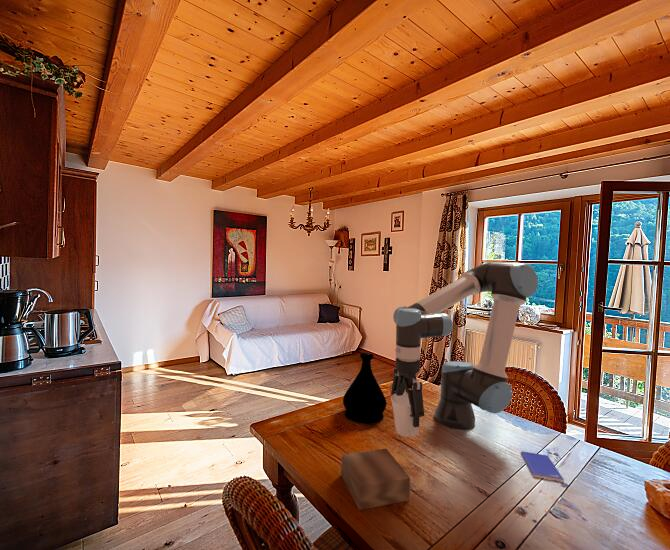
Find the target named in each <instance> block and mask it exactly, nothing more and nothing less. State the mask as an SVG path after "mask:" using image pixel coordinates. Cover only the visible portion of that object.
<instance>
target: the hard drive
mask: <svg viewBox="0 0 670 550" xmlns="http://www.w3.org/2000/svg"><path fill="white" fill-rule="evenodd" d="M520 456H521V458H522V459H523V461H524V463H525V465H526V467H527V469H528V470H529V473H530V474H531V475H530V476H532V478H537V477H538V478H537V479H542V478H545V479H544V480H548V479H551V480H550V481H553V480H557V481H556V482H559V481H563V482H562V483H564V482H565V479H564V477H563V476H562V474H561V473H560V472H559V470H558V469H557V467H556V466H555V464H554V463H553V461H552V460H551V458H550V456H549V455H546V454H542V453H536V452H535V453H534V452H528V451H520Z"/></svg>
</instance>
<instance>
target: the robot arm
mask: <svg viewBox="0 0 670 550" xmlns="http://www.w3.org/2000/svg"><path fill="white" fill-rule="evenodd" d="M538 283H539V279H538V275H537V273H536V270H535V269H534V268H533V266H531V265H530V264H528V263H521V262H517V261H516V262H500V261H499V262H496V261H491V262H486V263H483V264H480V265H477V266H475V267H473V268H471V269H469V270H467V271H465V272H464V273H461V275H460V276H459V278H458V279H456V280H454V281H452V282H451V283H449V284H447V285H445V286H444V287H441V288H440V289H438V290H437V291H434V292H433V293H431V294H429V295H428V296H426V297H424V298H422V299H420V300H419V301H417V302H415V303H413V304H411V305H409V306H405V305H404V306H399V307H397V308H396V309H395V310H394V311H393V322H394V323H395V324H396V326H395V329H396V330H395V331H396V332H395V349H394V351H395V357H396V358H395V360H394V361H395V366H394V369H393V379H392V384H391V391H390V395H391V396H392V395H393V394H397V396H401V395H403V394H404V393H408V398H409V403H410V405H411V413H412V415H410V437H409V438H412V437H413V438H414V437H419V435H420V418H421V417H425V407H424V399H423V398H424V397H423V382H421V381H418V380H417V374H418V373H419V372H420V369H421V365H420V364H421V360H420V359H421V342H422V339H427V338H428V339H429V338H430V339H431V338H438V337H439V338H441V337H444V336H448V335H450V333H452V330H453V320H452V318H451V316H450V315H449V314H447V313H444V311H446V310H447V309H448V308H451V307H452V306H454V305H456V304H458V303H459V302H461V301H462V300H464V299H466V298H468V297H469V296H476V295H478V294H480V293H483V292H488V293H489V292H490V296H491V297H492V299H493V303H492V307H491V312H490V316H489V319H488V320H489V321H488V324H487V329H486V333H485V337H484V341H483V345H482V350H481V353H480V359H479V363H477V364H475V365H473V363H471V362H467V361H460V360H459V361H458V360H455V361H454V360H453V361H452V360H451V361H446V362H444V363H443V364H442V368H441V372H440V373H441V375H440V377H441V378H440V398H439V401H438V403H437V406H436V409H435V411H434V418H435V420H436V421H437V422H438V423H440V424H442V425H443V426H446V427H447V428H453V429H456V430H457V429H459V430H467V429H472V428H473V427H475V425H476V415H475V413H474V409H473V405H474V406H475V407H477V408H479V409H481V410H482V411H486V412H488V413H491V414H498V413H501V412H503V411H504V410H506V409H507V407H508V406H509V404H510V403H511V401H512V398H513V390H512V386H511V385H510V384H509V383H508V380H509V376H508V374H507V373H506V371H505V370H506V366H507V362H508V357H509V355H510V349H511V346H512V345H511V344H512V341H513V336H514V332H515V328H516V323H517V320H518V315H519V311H520V307H521V305H524V304H525V303H526V302H527V298H529V297H531V296H533V295H534V294H535V293H536V291H537V289H538V286H539V285H538ZM391 396H390V397H391ZM393 421H394V422H395V420H394V419H393Z"/></svg>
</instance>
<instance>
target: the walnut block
mask: <svg viewBox="0 0 670 550" xmlns="http://www.w3.org/2000/svg"><path fill="white" fill-rule="evenodd" d="M340 470H341V473H340V477H342V479H343V482H344V483H345V486H346V488H347V490H348V492H349V493H350V495H351V497H352V499H353V501H354V503H355V506H356V508H357V509H358V511H362V510H367V509H372V508H377V507H382V506H388V505H393V504H397V503H403V502H407V501H410V490H411V487H410V486H411V477H410V476H409V475H408V473H407V472H406V471H405V470H404V468H403V467H402V466H401V465H400V463H399V462H398V461H397V459H395V457H394V456H393V454H391V453H390V451H389V450H388V448H380V449H375V450H374V449H373V450H367V451H358V452H352V453H351V452H350V453H344V454H341V469H340Z"/></svg>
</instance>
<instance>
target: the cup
mask: <svg viewBox="0 0 670 550" xmlns="http://www.w3.org/2000/svg"><path fill="white" fill-rule="evenodd" d="M390 400H391V405H392V411H393V421H394V420H395V421H394V425H395V426H394V427H395V432H396V433H397V435H399V436H400V437H404V438H411V437H410V415H412V413H411V405H410V403H409V398H408V393H406V392H404V394H403V395H401V396H397V394H393V395H392V396H390Z"/></svg>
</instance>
